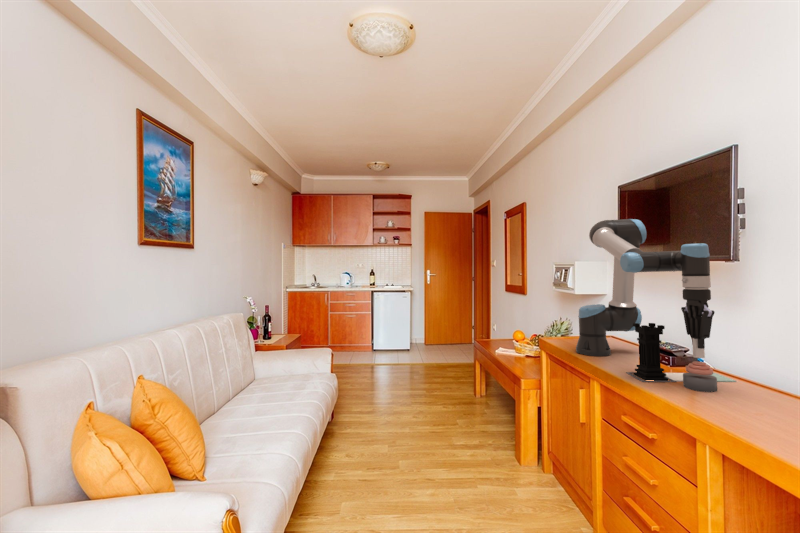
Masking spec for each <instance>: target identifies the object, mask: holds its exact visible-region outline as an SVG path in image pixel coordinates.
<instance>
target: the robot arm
mask: <svg viewBox="0 0 800 533" xmlns="http://www.w3.org/2000/svg"><path fill="white" fill-rule="evenodd" d="M647 235H648V234H647V229H646V226H645V224H644V223H643V222H642V220H640V219H636V218H634V219H633V218H626V219H625V218H624V219H604V220H601V221H598V222H597V223H595V224H594V225H593V226H592V227H591V228H590V230H589V235H588V236H589V240H590V242H591V243H592V244H593V245H594V246H596V247H597V248H601V249H604V250H605V251H606V252H607V253H609V254H610V255H612V256H613V257H614V258H613V274H612V275H613V277H612V278H613V280H612V296H611V297H612V298H611V300H610V301H608V306H607V307H606V305H605V304H587V305H583V306H580V307H579V309H578V329H579V330H578V332H579V333H578V334H579V337H578V339H577V342H576V345H575V353H577V354H579V353H580V355H583V354H584V356H591V357H607V356H610V355H612V353H611V351H612V349H611V347H610V344H609V342H608V339H607V332H627V333H628V332H635V327H634V326H633V323H639V324H640V325H641V324H642V319H643V314H642V311H641V309H640V308H639V307H637V304H636V303H635V302H634V287H635V274H636V273H637V274H638V273H650V272H651V273H655V272H658V273H660V272H661V273H662V272H672V273H673V272H674V273H675V272H681V276H682V278H681V284H682V288H683V289H682V299H683V300H684V301H686V302H685V303H686V304H685V306H681V309H680V310H681V311H682V314H683V320H684V324H685V330H686V334H687V335H689V336H690V338H691V339H692V341H691V346H692V357H693V358H695V359H705V357H706V356H705V355H706V353H705V347H706V346H705V344H706V343H705V339H710V338H711V330H712V324H713V323H712V322H713V317H714V315H715V311H714V310H711V309H710V308H709V303H708V301H710V300H711V299H712V293H711V292H712V291H711V289H710V288H711V274H710V273H711V269H710V267H711V265H710V263H711V262H710V256H711V253H710V249H709V245H708V244H707V243H701V242H700V243H698V242H697V243H685V244H682V245H681V247H680V250H668V251H667V250H666V251H665V250H664V251H663V250H662V251H643V250H642V249H641V248H640V247H641V245H642V244H644V243H645V242H646V239H647Z"/></svg>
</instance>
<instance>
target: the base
mask: <svg viewBox="0 0 800 533" xmlns="http://www.w3.org/2000/svg"><path fill="white" fill-rule="evenodd" d="M682 373H683V382H682V386H683V388H686V389H688V390H690V391H695V392H696V391H697V392H700V393H701V392H702V393H716V392H717V391H718V382H717V378H716V377H714V376H712V375H699V374H693V373H689V372H682Z"/></svg>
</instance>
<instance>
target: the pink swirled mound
mask: <svg viewBox="0 0 800 533" xmlns="http://www.w3.org/2000/svg"><path fill="white" fill-rule="evenodd" d="M685 371H686V373H693V374H699V375H712V374H713V373H714V369H713V368H711V366H710V365H708V364H707V363H706V362H703V361H695V360H694V361H691V362H690V363H688V365H685Z"/></svg>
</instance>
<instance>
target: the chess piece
mask: <svg viewBox="0 0 800 533" xmlns="http://www.w3.org/2000/svg"><path fill="white" fill-rule="evenodd" d="M633 326H634V327H635V330H634V332H635V333H638V337H637V338H636V341H638V354H639V358H638V359H639V364H636V366H635V368H634V371H635V372H634V371H632V372H633V374H632V375H634V376H636V377H638V378H640V379H642V380H643V381H645V380H654V381H669V379H668V378H666V377H664V376H666V374H665V373H666V372H665V369H664V368H663V367H661V346H660V344H662V340H660V335H663V334H664V330H665V328H666V327H665V325H661V324H658V325H656V323H654V322H648V325H645V324H644V325H641V324H639V323H633ZM656 326H657V327H656Z"/></svg>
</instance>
